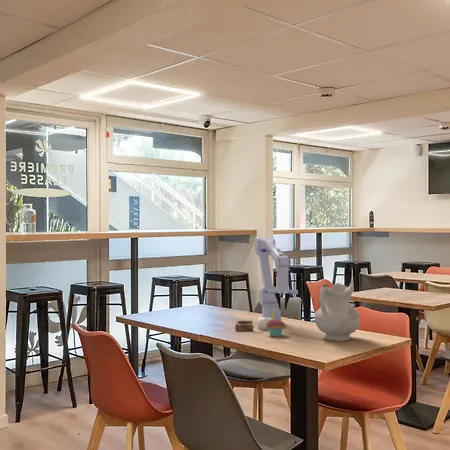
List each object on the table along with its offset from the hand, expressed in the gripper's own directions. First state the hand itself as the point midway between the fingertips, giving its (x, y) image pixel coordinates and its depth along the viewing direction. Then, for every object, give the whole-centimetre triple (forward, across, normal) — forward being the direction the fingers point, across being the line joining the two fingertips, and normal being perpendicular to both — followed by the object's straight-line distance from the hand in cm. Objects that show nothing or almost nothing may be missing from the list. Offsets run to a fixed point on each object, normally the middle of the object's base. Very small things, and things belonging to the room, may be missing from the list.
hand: (282, 309), depth 272 cm
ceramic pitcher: (+10, +22, -24) cm, 34 cm away
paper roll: (+10, -8, 0) cm, 13 cm away
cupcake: (+10, -4, -16) cm, 19 cm away
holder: (+9, -18, 0) cm, 21 cm away
